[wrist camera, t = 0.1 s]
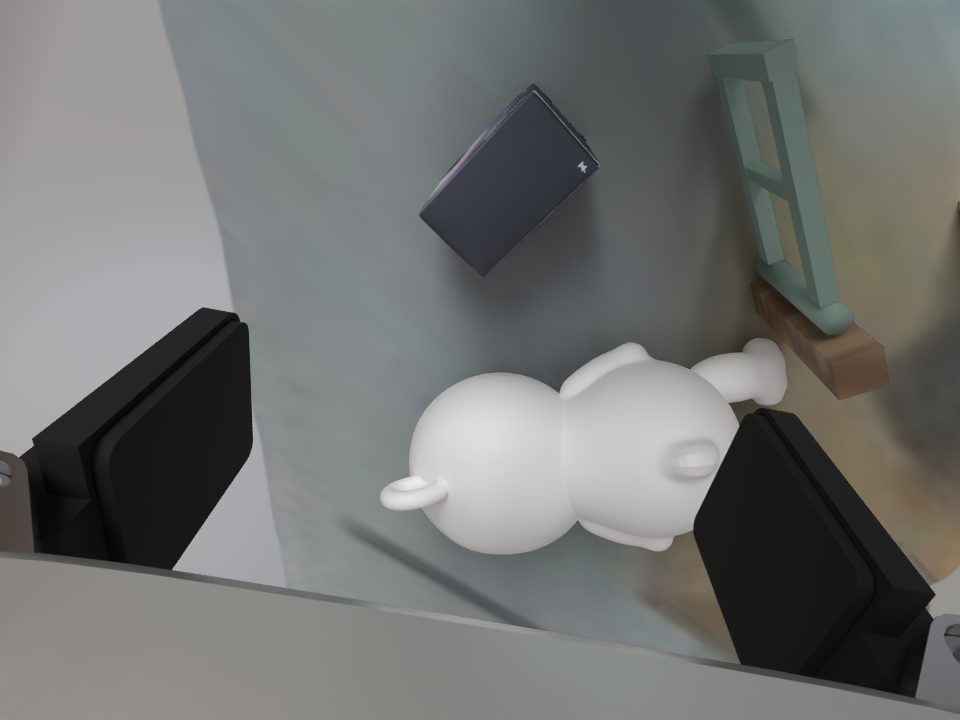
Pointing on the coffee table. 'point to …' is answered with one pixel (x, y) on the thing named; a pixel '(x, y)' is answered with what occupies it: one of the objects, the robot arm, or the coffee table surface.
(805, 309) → the gate
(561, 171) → the small box
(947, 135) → the coffee table surface
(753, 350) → the teddy bear
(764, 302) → the gate post
